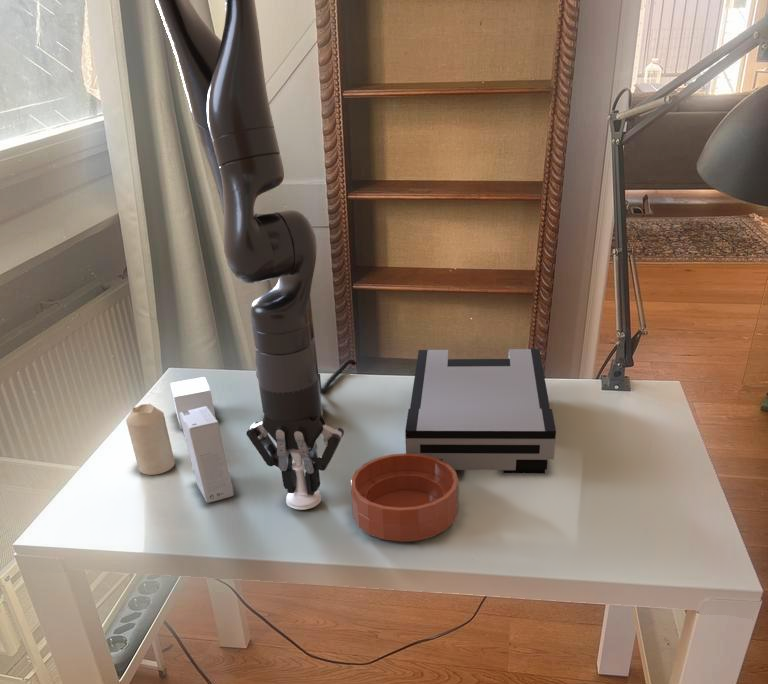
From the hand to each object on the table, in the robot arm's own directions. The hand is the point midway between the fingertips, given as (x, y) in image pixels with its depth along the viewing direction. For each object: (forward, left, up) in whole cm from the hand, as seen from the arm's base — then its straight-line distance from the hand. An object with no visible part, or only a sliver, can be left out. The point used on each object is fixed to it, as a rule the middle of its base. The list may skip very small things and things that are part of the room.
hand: (302, 490), depth 110 cm
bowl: (0, +15, -2) cm, 15 cm away
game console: (-26, +21, -2) cm, 33 cm away
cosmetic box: (-1, -14, -2) cm, 14 cm away
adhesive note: (-22, -27, -2) cm, 35 cm away
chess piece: (0, 0, -2) cm, 2 cm away
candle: (-6, -26, -2) cm, 27 cm away
